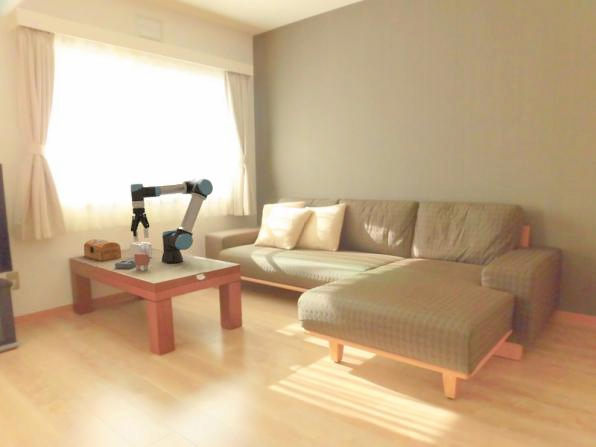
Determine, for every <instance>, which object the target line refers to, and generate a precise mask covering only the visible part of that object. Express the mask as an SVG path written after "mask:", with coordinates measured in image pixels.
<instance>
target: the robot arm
mask: <svg viewBox="0 0 596 447" xmlns="http://www.w3.org/2000/svg"><path fill="white" fill-rule="evenodd" d="M213 190H214V187H213V184H212V182H211V181H210V180H209V179H206V178H193V179H189V180H183V181H180V182H175V183H174V182H173V183H163V184H161V183H159V184H149V185H144V184H143V183H132V184H131V185H130V196H131V206H132V214H133V215H132V216H131V218H132V219H131V225H130V231H131V232H132V235H133V236H132V237H133V242H139V233H138V231H137V230H138V228H139V225H140V223H141V225H142V226H143V237H144V238H146V239H149V228H150V222H149V220H148V217H147V213H146V208H145V204H146V203H145V198H156V197H161V196H163V195H165V196H166V195H173V194H174V195H175V194H182V195H190V196H191V197H190V201H189V203H188V206H187V208H186V211H185V213H184V216H183V218H182V222H181V223H180V226H179V227H177V228H176V229H174V230H164V231H163V232H162V234H161V235H162V236H161V238H162V248H163V252H162V257H161V262H162V263H164V264H177V263H182V262H183V261H184V257H183V255H182V252H181V251H185V250H189V249H190V248H191V247H192V246H193V243H194V239H193V234H194V233H193V232H192V231H193V229H194V226H195V223H196V222H197V218H198V216H199V213H200V210H201V208H202V205H203V204H204V203H203V202H204V201H206V200H207V199H208V196H209V195H212V192H213Z"/></svg>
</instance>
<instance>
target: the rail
mask: <svg viewBox="0 0 596 447" xmlns="http://www.w3.org/2000/svg"><path fill="white" fill-rule="evenodd" d="M150 259H151V257H148V263H150V261H151V260H150ZM114 268H115V269H119V270H121V269H123V270H130V269H133V268H136V265H135V257H130V258H127V259H125V260H121V261H119V262H115V263H114Z"/></svg>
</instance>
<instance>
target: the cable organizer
mask: <svg viewBox="0 0 596 447" xmlns="http://www.w3.org/2000/svg"><path fill="white" fill-rule="evenodd" d="M129 245H130V246H129V247H130V256H131V257H130V258H133V257H134V254H136V253H140V254H148V257H150V258H151V257H153V251H152V250H153V248H152V243H151V242H147V241H140V242H139V243H137V242H136V243H135V242H132V243H129Z"/></svg>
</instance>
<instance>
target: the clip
mask: <svg viewBox="0 0 596 447" xmlns="http://www.w3.org/2000/svg"><path fill="white" fill-rule="evenodd" d="M134 257H135V265H136V267H135V270H136V271H139V270H141V266H143V271H148V270H149V264H150V263H149V262H148V254H140V253H136V254H134Z"/></svg>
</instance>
